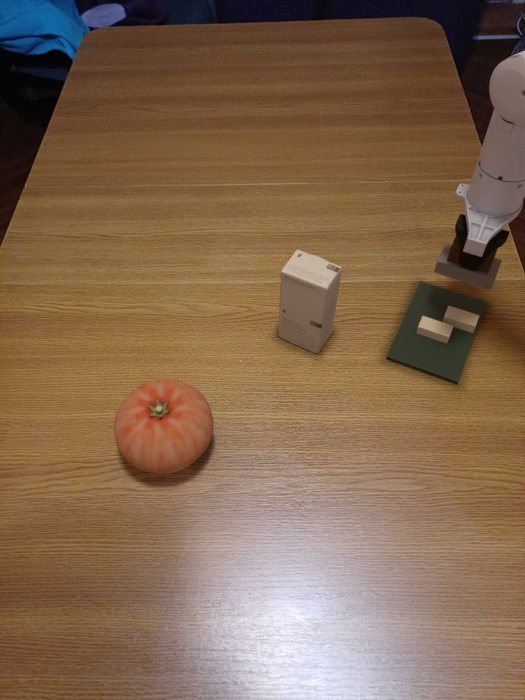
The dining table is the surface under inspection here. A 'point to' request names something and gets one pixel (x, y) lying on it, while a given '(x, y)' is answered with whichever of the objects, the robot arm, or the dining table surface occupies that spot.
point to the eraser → (451, 268)
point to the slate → (430, 352)
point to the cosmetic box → (308, 300)
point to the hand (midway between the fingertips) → (471, 258)
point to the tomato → (163, 426)
